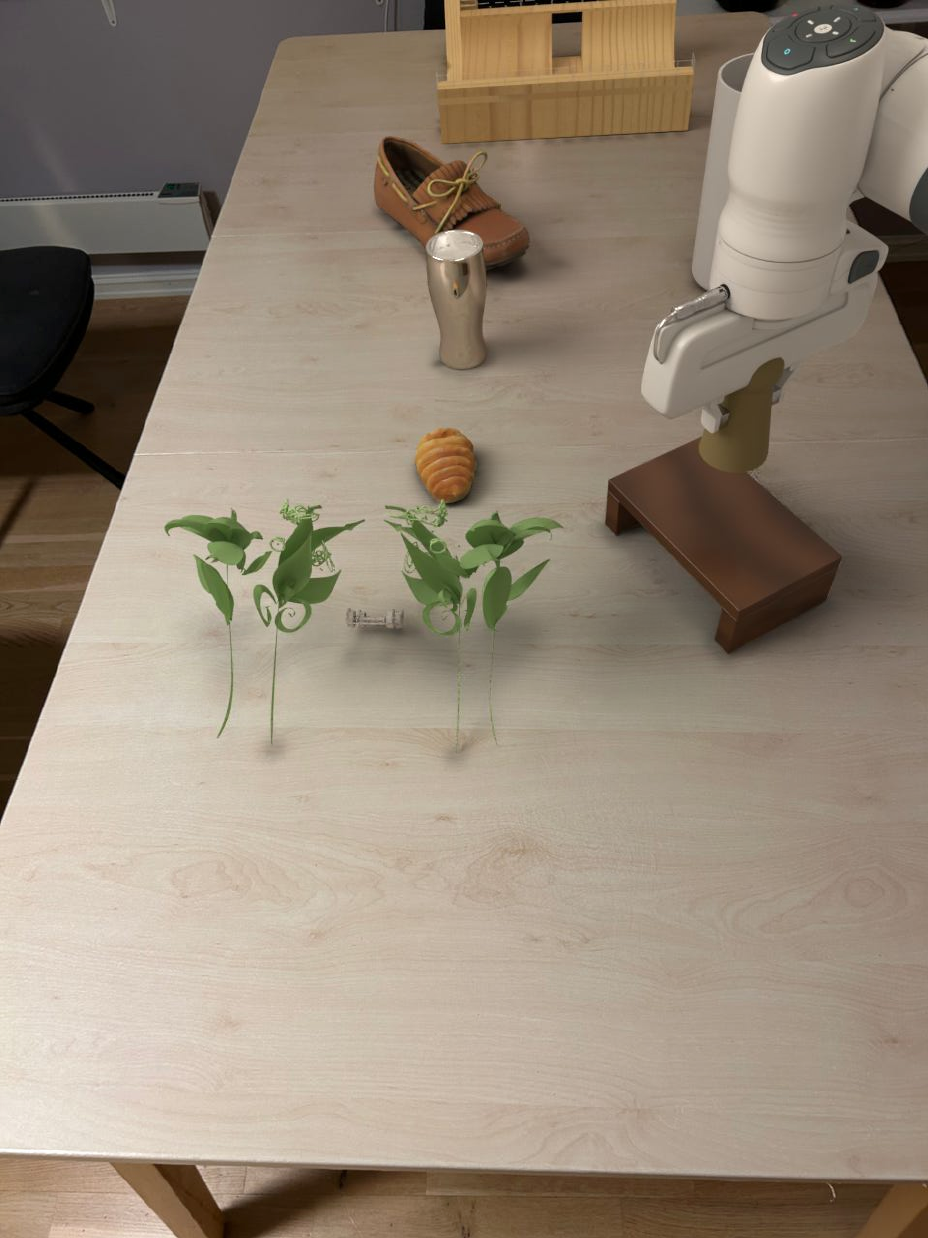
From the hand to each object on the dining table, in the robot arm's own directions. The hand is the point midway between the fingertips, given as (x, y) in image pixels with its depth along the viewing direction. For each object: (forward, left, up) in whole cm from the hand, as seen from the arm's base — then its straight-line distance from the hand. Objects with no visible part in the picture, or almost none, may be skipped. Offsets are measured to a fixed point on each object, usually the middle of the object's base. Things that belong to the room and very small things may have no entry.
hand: (741, 413), depth 80 cm
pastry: (+16, -26, -19) cm, 36 cm away
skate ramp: (-47, -100, -19) cm, 112 cm away
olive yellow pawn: (0, 0, -4) cm, 4 cm away
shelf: (0, 0, -19) cm, 19 cm away
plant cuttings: (+35, -6, -19) cm, 40 cm away
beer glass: (+4, -44, -19) cm, 48 cm away
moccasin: (-8, -69, -19) cm, 72 cm away
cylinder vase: (-35, -38, -19) cm, 55 cm away
